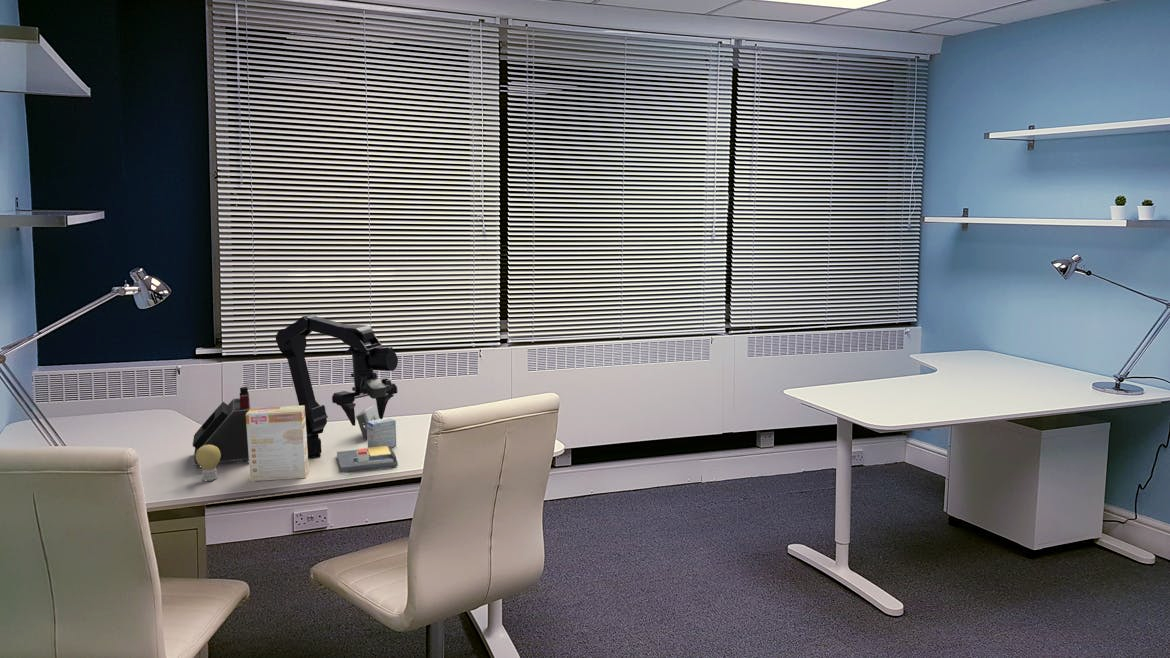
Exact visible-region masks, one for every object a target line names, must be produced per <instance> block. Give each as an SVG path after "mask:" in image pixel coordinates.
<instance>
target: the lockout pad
mask: <svg viewBox="0 0 1170 658" xmlns="http://www.w3.org/2000/svg"><path fill="white" fill-rule="evenodd" d="M366 449H368V452H369V455H370V456H373V455H383V454H391V453H390V451H389V448H388V446H378V447H368V446H367V448H366Z"/></svg>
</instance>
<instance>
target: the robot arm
mask: <svg viewBox="0 0 1170 658" xmlns="http://www.w3.org/2000/svg"><path fill="white" fill-rule="evenodd" d="M312 332H314V333H318V334H322V335H325V336H327V337H332V338H336V339H338V340H340V341H342V342H343V344H345V345H347V346H349V348H348V349H347V350H346V351H345V353H344V354H345V355H347V356H348V355H350V356H351V360H352V371H353V372H351V373H350V377H351V378H353V384H354V386H353V387H351V388H352V389H351V390H352V392H351V391H345V390H343V391H339V392H338V391H337V392H333V394H332V396H331V401H332V402H331V403H332V404H336V405H337V406H340V408H341V409H342V410H343V412H344V413H345V415H346V416H347V419H348V420H349V422H350V424H351V425H352V426H356V415H355V407H356V403H355V399H356V400H357V399H359V398H364V397H365V398H366V397H370V398H371V399H375V402H376V410H377V414H378V417H379V419H383V418H384V415H385V411H386V409H387V405H388V402H389V400H391V398H394V395H395V394H398V386H397V385H396V384H395V383H393V382H392V379H390V377H386V378H385V377H384V378H383V379H378V374H377V372H375V371H386V372H387V371H388V372H390V371H391V372H393V371H395V370H396V369H397V366H398V363H399V358H398V355H397V353H396V352H395V351H394V350H393V346H383V344H382V343H381V341H380V340H379V339H378V337H377V336H376V334H375V332H374V330H373V328H372V327H371V326H369V325H367V324H366V325H364V324H345V323H341V322H338V321H335V320H330V319H327V318H323V317H319V316H317V315H315V314H308V315H303V316H301V317H299V318H298V319H297V320H296V321H295V322H293V323H291V324H290V325H288V326H287V327H284V328H281V329H279V330H278V331H277V333H276V335H275V342H276V344H277V347H278V349H279V352H280V353H281V354H282V355H283V356H284V357H285V358H286V360H287V362H288V363H287V364H288V367H289V371H290V376H291V379H292V382H293V383H292V384H293V387H294V391H295V395H296V398H297V399H296V400H297V402H298V406H303V405H305V418H306V435H307V451H308V459H314V458H320V457H321V454H322V439H321V438H320V437H319V436H320V435H319V434H323V433H324V428H325V427H326V425H327V423H328V420H327V419H328V418H329V416H328V415H327V412H326V406H325V404H322V405H321V404H319V403H318V401H317V400H316V398H315V397H316V396H315V394H314V388H313V385H312V381H311V377H310V373H309V372H310V371H309V369H308V365H307V361H306V356H305V352H306V348H307V344H308V343H307V337H308V336H309V335H311V334H312Z"/></svg>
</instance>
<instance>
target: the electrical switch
mask: <svg viewBox="0 0 1170 658" xmlns="http://www.w3.org/2000/svg"><path fill="white" fill-rule="evenodd" d="M355 418H356V420H357V423H358V427H359V429H360V431H361V435H362V437H363V439H367V422H369V421H373V420H378V419H380V418H379V415H378V410H377V407H376V406H375V405H371V406H369V407H368V408H367V409H365V410H362V411H361V412H360V413H358V414H356V415H355Z"/></svg>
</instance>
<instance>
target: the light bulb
mask: <svg viewBox="0 0 1170 658" xmlns="http://www.w3.org/2000/svg"><path fill="white" fill-rule="evenodd" d="M220 457H221V453H220V450H219V448H218V447H216V446H214V445H204V446H202V447H200V448H199V449H198V450H197V452H196V461H197V463H198V464H197V465H198V466H199V465H200V466H201V467H200V468H202V469H201V473H202V480H203V481H205V480H212V481H215V480H216V479H218V472H217V466H218V464H219V463H220V462H219V460H220ZM214 479H215V480H214Z"/></svg>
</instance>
